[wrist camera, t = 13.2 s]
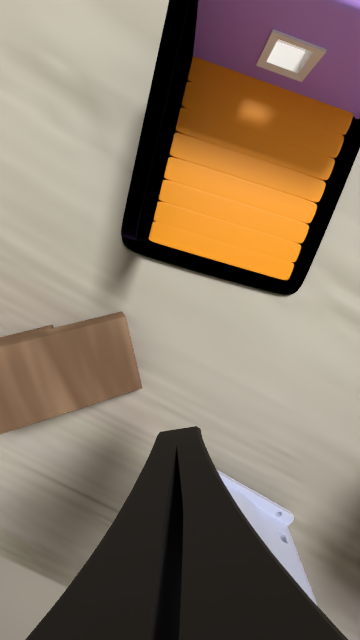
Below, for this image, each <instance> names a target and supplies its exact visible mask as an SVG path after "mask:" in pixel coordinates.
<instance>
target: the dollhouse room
mask: <svg viewBox="0 0 360 640" xmlns="http://www.w3.org/2000/svg"><path fill="white" fill-rule="evenodd" d="M278 39H280V40H283V41H285V42H288V43H291V44H293V45H296V46H299V47H301V48H304V49H307V50H306V52H305V51H302V50H299V49H297V48H294V47H291V46H289V45H286V44H283V43H281V42H278V41H277V40H278ZM359 148H360V0H169V5H168V9H167V14H166V19H165V23H164V28H163V33H162V37H161V42H160V47H159V52H158V56H157V61H156V66H155V70H154V75H153V80H152V84H151V89H150V94H149V99H148V103H147V108H146V113H145V117H144V122H143V127H142V131H141V136H140V141H139V146H138V150H137V155H136V160H135V165H134V169H133V174H132V179H131V183H130V188H129V193H128V198H127V203H126V207H125V212H124V217H123V223H122V229H121V235H122V240H123V243H124V245H125V246H126V247H127V248H128V249H130V250H131V251H133V252H135V253H138V254H140V255H143V256H146V257H149V258H153V259H156V260H159V261H162V262H166V263H169V264H172V265H176V266H179V267H182V268H186V269H189V270H193V271H196V272H199V273H203V274H206V275H210V276H213V277H217V278H220V279H224V280H228V281H231V282H235V283H238V284H242V285H246V286H249V287H253V288H257V289H261V290H264V291H268V292H272V293H277V294H282V295H290V294H293V293H295V292H296V291H298V289H299V288H300V287H301V285H302V283H303V281H304V279H305V277H306V275H307V273H308V271H309V269H310V266H311V264H312V262H313V259H314V257H315V255H316V252H317V250H318V248H319V245H320V243H321V241H322V238H323V236H324V234H325V231H326V229H327V226H328V224H329V222H330V219H331V217H332V214H333V212H334V210H335V207H336V205H337V202H338V200H339V197H340V195H341V193H342V190H343V188H344V185H345V183H346V180H347V178H348V175H349V173H350V171H351V168H352V166H353V163H354V161H355V158H356V156H357V153H358V151H359Z"/></svg>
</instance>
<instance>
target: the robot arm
mask: <svg viewBox="0 0 360 640" xmlns="http://www.w3.org/2000/svg"><path fill="white" fill-rule="evenodd" d="M293 520H294V516H293V514H292V512H290V511H289V510H287V509H285V508H283V507H282V506H280V505H278V504H276V503H275V502H273V501H271V500H269V499H268V498H266V497H264V496H262V495H261V494H259V493H257V492H255V491H254V490H252V489H250V488H248V487H246V486H245V485H243V484H241V483H239V482H238V481H236V480H234V479H232V478H231V477H229V476H227V475H225V474H224V473H222V472H220V471H218V470H217V469H216V468H215V466H214V464H213V462H212V460H211V458H210V456H209V454H208V451H207V449H206V447H205V444H204V442H203V439H202V435H201V430H200V428H198V427H197V426H195V427H189V428H183V429H176V430H170V431H164V432H160V433H159V434H158V436H157V438H156V441H155V443H154V446H153V448H152V450H151V453H150V455H149V457H148V459H147V461H146V463H145V466H144V468H143V470H142V472H141V473H140V475H139V477H138V479H137V481H136V483H135V485H134V487H133V489H132V491H131V493H130V494H129V496H128V498H127V500H126V501H125V503H124V505H123V507H122V508H121V510H120V512H119V513H118V515H117V517H116V519H115V520H114V522H113V523H112V525H111V527H110V528H109V530H108V531H107V533H106V534H105V536H104V537H103V539H102V540H101V542H100V543H99V545H98V546H97V548H96V549H95V551H94V552H93V554H92V555H91V557H90V558H89V559H88V561H87V562H86V564H85V565H84V566H83V568H82V569H81V570H80V572H79V573H78V574H77V576H76V577H75V579H74V580H73V581H72V583H71V584H70V585H69V587H68V588H67V589H66V591H65V592H64V593H63V595H62V596H61V597H60V599H59V600H58V601H57V602H56V603H55V605H54V606H53V607H52V608H51V610H50V611H49V612H48V613H47V614H46V616H45V617H44V618H43V619H42V620H41V622H40V623H39V624H38V625H37V627H36V628H35V629H34V630H33V631H32V632H31V634H30V635H29V636H28V637H27V639H26V640H348V639H347V638H346V637H345V636H344V635H343V634H342V633H341V632H340V631H339V629H338V628H337V627H336V626H335V625H334V624H333V623H332V622H331V621H330V620H329V618H328V617H327V616H326V615H325V614H324V613H323V612H322V611H321V610H320V609H319V607H318V605H317V603H316V600H315V597H314V595H313V592H312V589H311V587H310V584H309V581H308V579H307V576H306V574H305V571H304V568H303V566H302V563H301V560H300V558H299V555H298V552H297V550H296V547H295V545H294V542H293V539H292V537H291V534H290V531H289V529H288V526H289V525H290V524H291V523H292V522H293Z"/></svg>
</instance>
